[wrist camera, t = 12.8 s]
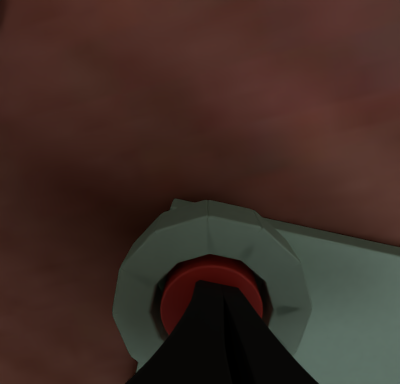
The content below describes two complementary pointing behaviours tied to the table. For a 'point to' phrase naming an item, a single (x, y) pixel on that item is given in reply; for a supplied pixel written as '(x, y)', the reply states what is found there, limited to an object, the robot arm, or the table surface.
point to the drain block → (276, 288)
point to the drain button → (208, 271)
